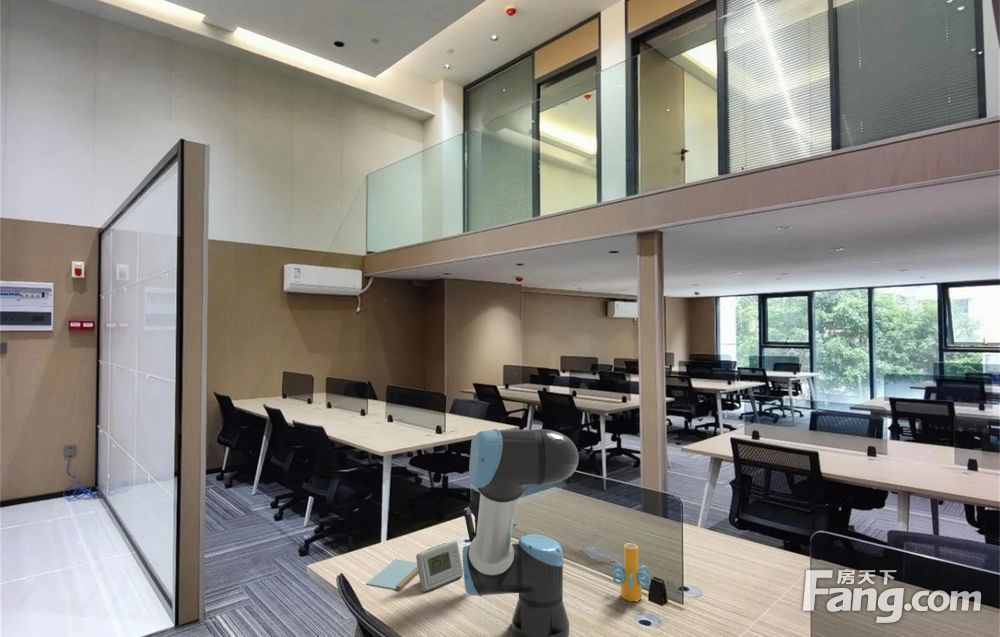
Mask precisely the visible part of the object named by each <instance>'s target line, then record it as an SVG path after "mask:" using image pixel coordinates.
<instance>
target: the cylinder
mask: <svg viewBox="0 0 1000 637" xmlns="http://www.w3.org/2000/svg"><path fill="white" fill-rule="evenodd" d="M623 549H624V551H623V553H624V554H623V555H624V556H623V558H624V559H623V560H624V561H623V562H624V563H623V564H624V565H622V563H619V562H615V563H614V564H613V566H612V571H613V572H612V580H613V582H614V583H615V584H617V585H619V584H620V596H621V598H622V597H623V598H624V599H623V598H622V599H623V600H625V599H626V600H625V601H627V600H629V601H628V602H630V601H636V600H639V599H641V600H642V598H641V597H642V595H643V592H642V590H643V588H648V587H650V585H651V583H652V582H651V578H650V569H649V568H648V567H647V566H646V565H641V566H639V546H638V545H637V544H635V543H632V542H631V543H630V542H628V543H624V547H623ZM616 567H620V568H617V569H616ZM642 570H645V571H646V572H645V571H642ZM619 573H622V574H619ZM641 575H643V576H644V577H641ZM616 577H617V578H618V579H620V580H617V579H616ZM642 581H647V583H643V582H642ZM642 587H643V588H642Z"/></svg>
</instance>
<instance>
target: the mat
mask: <svg viewBox="0 0 1000 637" xmlns="http://www.w3.org/2000/svg"><path fill="white" fill-rule="evenodd" d="M417 575H419V571H418V566H417V561H412V560H411V561H410V560H404V559H398V558H397V559H396V558H395V559H394V560H392V561H391V562H390V563H389V564H388V565H386V566H385V567H384V568H383V569H382V570H381V571H379V572H378V573H377V574H376V575H375V576H373V577H372V578H371V579H369V581H367V582H366V585H367V584H368V586H374V587H378V588H383V587H384V589H389V590H393V591H402V590H403V589H404V588H405V587H406V586H407V585H408V584H409V583H410V582H411V581H412V580H414V578H415V577H417Z"/></svg>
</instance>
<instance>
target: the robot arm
mask: <svg viewBox="0 0 1000 637" xmlns="http://www.w3.org/2000/svg"><path fill="white" fill-rule="evenodd" d="M470 442H471V443H470V444H471V445H470V456H469V466H468V473H469V474H468V475H469V482H470V488H471V489H470V503H469V504H468V506H467V507H465V508H464V509H463V510H462V511H461V513H462V515H463V518H464V520H465V524H466V529H467V535H468V538H469V542H470V544H468V545H464V547H463V548H462V568H463V577H464V578H463V580H464V587H465V588H464V589H465V592H466V594H467V595H469V596H477V597H478V596H479V597H482V596H490V595H491V596H492V595H495V596H496V595H507V594H518V599H517V603H516V606H515V608H514V612H513V614H512V615H513V616H512V618H511V631H512V634H513V636H514V637H569V636H570V621H569V617H568V613H567V611H566V607H565V604H564V600H563V599H564V598H563V597H564V595H563V594H564V593H563V592H564V588H563V587H564V586H563V584H564V557H563V556H564V554H563V549H562V548H563V547H562V546H561V545H560V543H559V542H558V541H557V540H555V539H553V538H551V537H548V536H545V535H541V534H534V533H533V534H532V533H527V534H524V535H522V536H520V537H519V540H518V543H512V541H511V540H512V534H513V527H514V522H515V515H516V511H517V503H518V500H519V499H520V498H521V497H522V496H523V495H524V493H525V491H526V488H527V486H540V485H541V486H543V485H551V484H556V483H559V482H562V481H564V480H566V479H568V478H570V477H571V476H572V475H573V474H574V473H575V471H576V469H577V468H578V465H579V461H580V460H579V459H580V457H579V456H580V455H579V450H578V448H577V447H576V445H575V443H574V442H573V440H571V439H570V438H569V437H568V436H566V435H564V434H563V433H560V432H558V431H555V430H551V429H545V428H544V429H543V428H540V429H539V428H538V429H504V430H503V429H502V430H499V429H498V428H495V429H494V428H493V429H490V430H488V429H487V430H481V431H479V432H477V433H475V436H474V437H473V438H472V439H471V441H470ZM472 515H473V516H472ZM473 517H474V521H473Z"/></svg>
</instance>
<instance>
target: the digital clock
mask: <svg viewBox="0 0 1000 637" xmlns="http://www.w3.org/2000/svg"><path fill="white" fill-rule="evenodd" d="M415 558H416V562H417V566H418V571H419V573H418V576H419V583H420V587H421V590H422V591H423V592H427V591H430V590H435V589H436V588H439V587H442V586H445V585H447V584H448V583H452V582H454V581H456V579H458V578H461V577H463V576H464V572H463V562H462V559H461V554H460V548H459V543H458V541H457V540H452V541H449V542H444V543H441V544H439V545H435V546H434V547H433V546H432V547H430V548H428V549H426V550H424V551H421V552H418V553H417V554H416V557H415Z"/></svg>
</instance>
